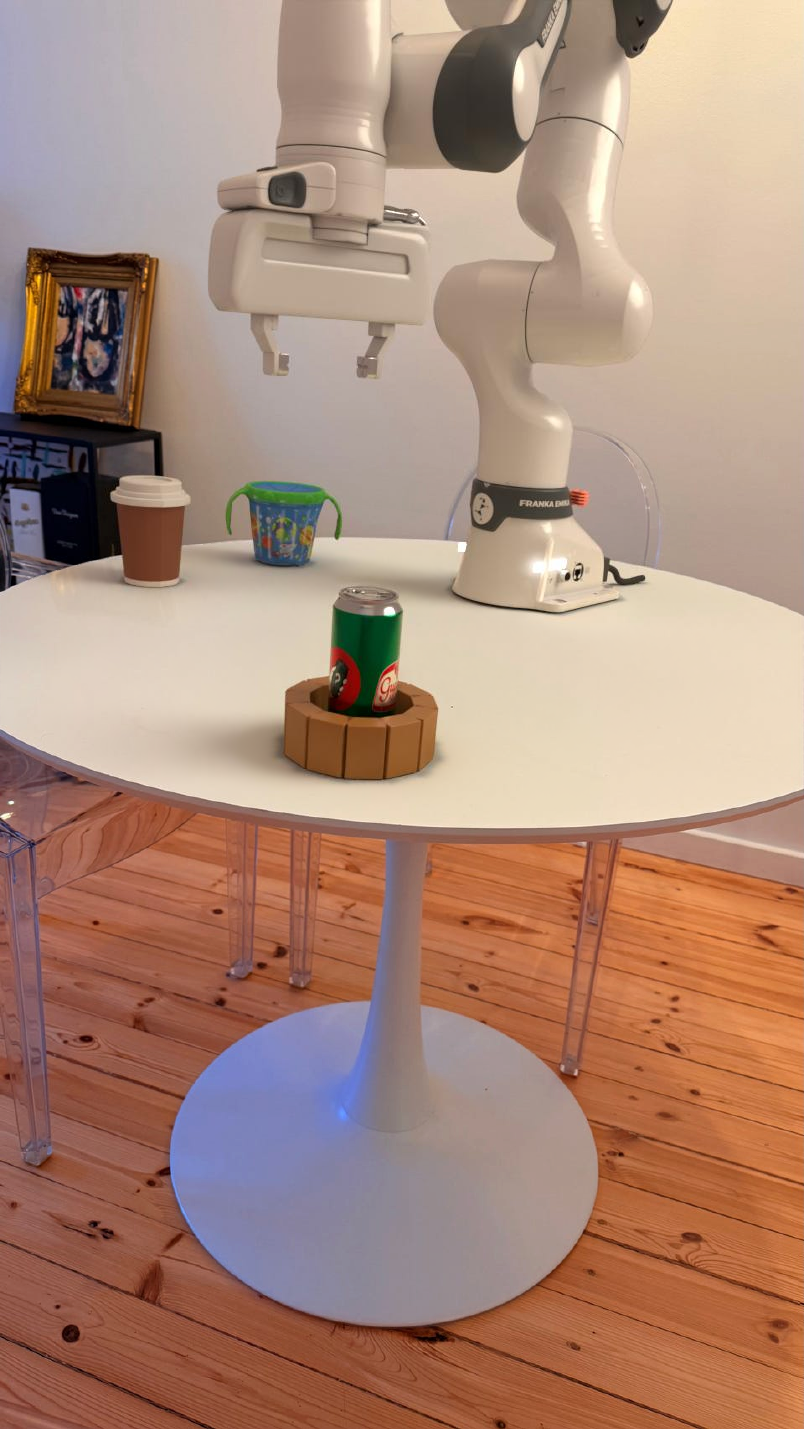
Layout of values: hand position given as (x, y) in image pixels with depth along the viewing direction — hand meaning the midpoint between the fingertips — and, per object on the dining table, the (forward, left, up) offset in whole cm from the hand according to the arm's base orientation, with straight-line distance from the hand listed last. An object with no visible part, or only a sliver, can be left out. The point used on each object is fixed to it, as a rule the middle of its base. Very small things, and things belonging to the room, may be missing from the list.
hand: (323, 377), depth 85 cm
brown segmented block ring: (+8, +20, -26) cm, 33 cm away
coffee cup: (+1, -35, -26) cm, 44 cm away
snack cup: (-20, -40, -26) cm, 52 cm away
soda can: (+8, +20, -26) cm, 33 cm away
